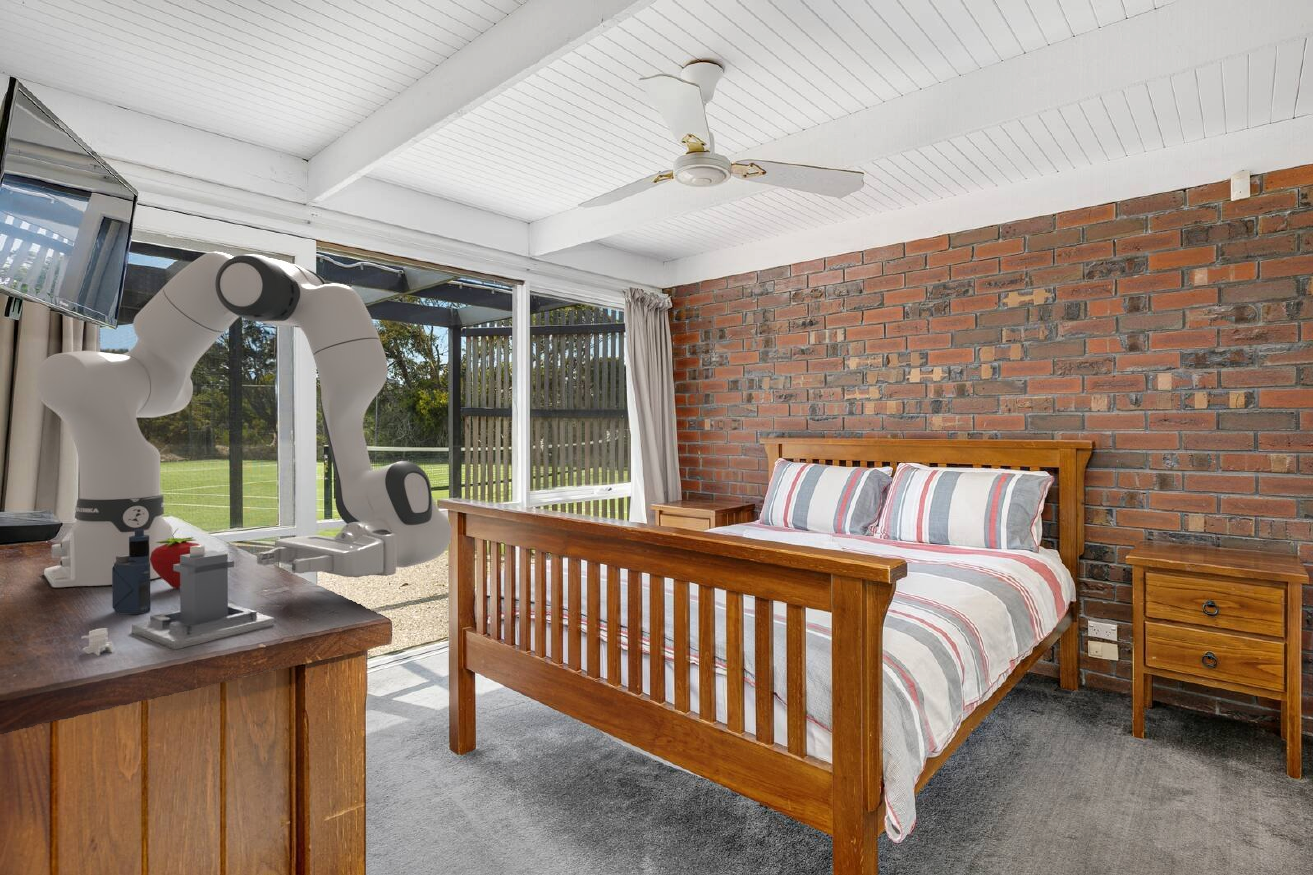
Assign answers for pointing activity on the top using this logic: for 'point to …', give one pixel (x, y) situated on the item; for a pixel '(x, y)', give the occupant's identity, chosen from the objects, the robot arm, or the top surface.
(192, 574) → the block
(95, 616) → the top surface
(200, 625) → the plate
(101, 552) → the robot arm
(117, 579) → the vaping device
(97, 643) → the power adapter
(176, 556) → the strawberry
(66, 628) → the top surface
